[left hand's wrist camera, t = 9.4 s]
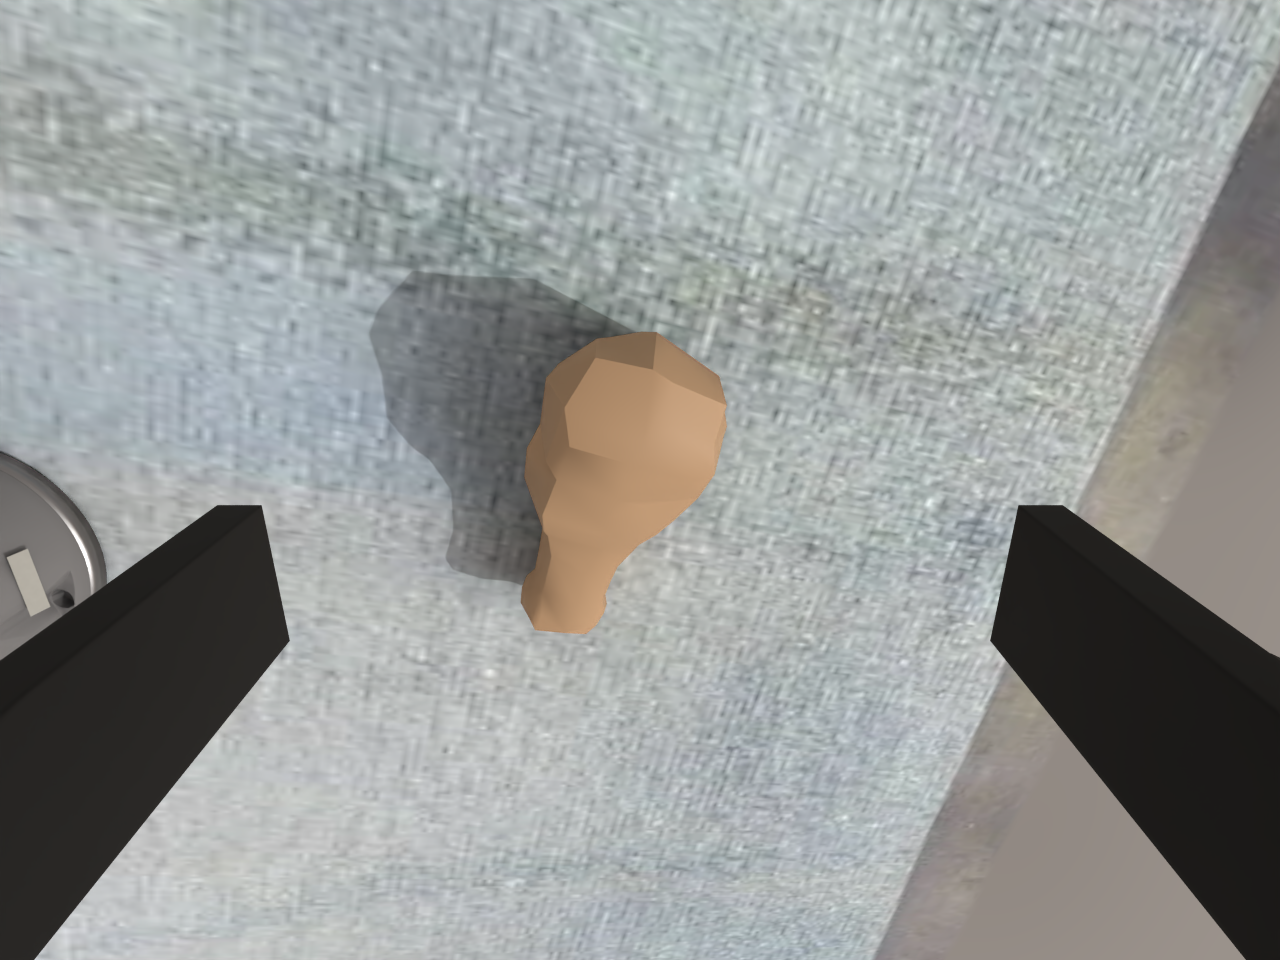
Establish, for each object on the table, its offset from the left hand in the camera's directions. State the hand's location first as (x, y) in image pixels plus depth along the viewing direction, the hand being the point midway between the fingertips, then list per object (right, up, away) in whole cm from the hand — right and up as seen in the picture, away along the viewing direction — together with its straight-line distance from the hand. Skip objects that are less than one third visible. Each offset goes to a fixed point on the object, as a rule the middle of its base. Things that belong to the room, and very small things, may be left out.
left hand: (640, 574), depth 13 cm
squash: (-2, +2, +32) cm, 32 cm away
